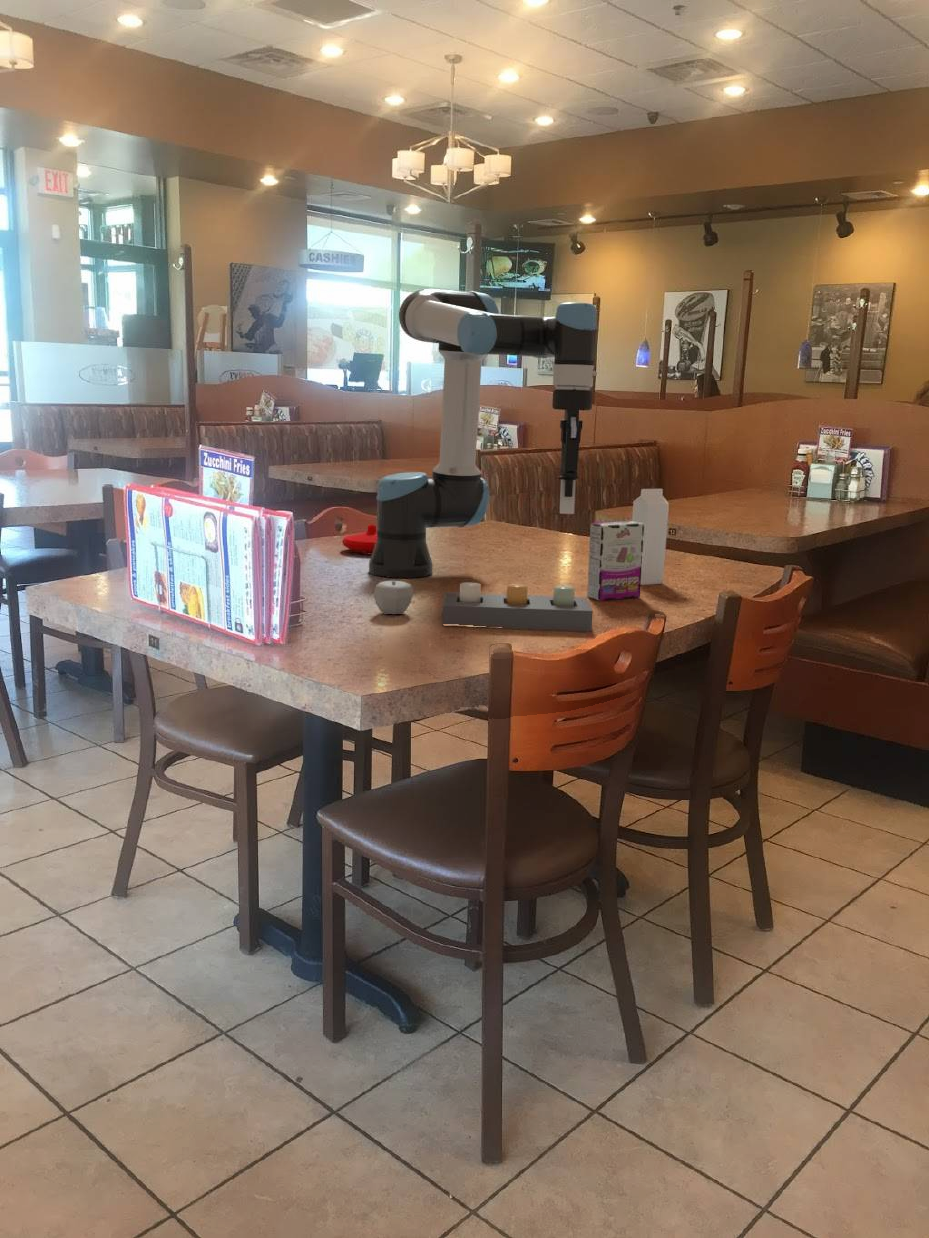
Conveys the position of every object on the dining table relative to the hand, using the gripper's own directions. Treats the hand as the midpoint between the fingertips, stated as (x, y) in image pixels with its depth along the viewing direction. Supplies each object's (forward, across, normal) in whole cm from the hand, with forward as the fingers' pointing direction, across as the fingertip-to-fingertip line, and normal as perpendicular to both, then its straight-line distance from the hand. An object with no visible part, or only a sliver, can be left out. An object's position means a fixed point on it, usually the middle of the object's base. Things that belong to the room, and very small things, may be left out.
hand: (566, 513), depth 194 cm
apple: (+21, -2, +33) cm, 39 cm away
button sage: (+18, -6, 0) cm, 19 cm away
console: (+21, -6, +9) cm, 23 cm away
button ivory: (+18, -6, +18) cm, 26 cm away
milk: (+21, +39, -23) cm, 50 cm away
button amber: (+18, -6, +9) cm, 21 cm away
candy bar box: (+21, +20, -13) cm, 32 cm away
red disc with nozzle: (+20, +68, +45) cm, 84 cm away
